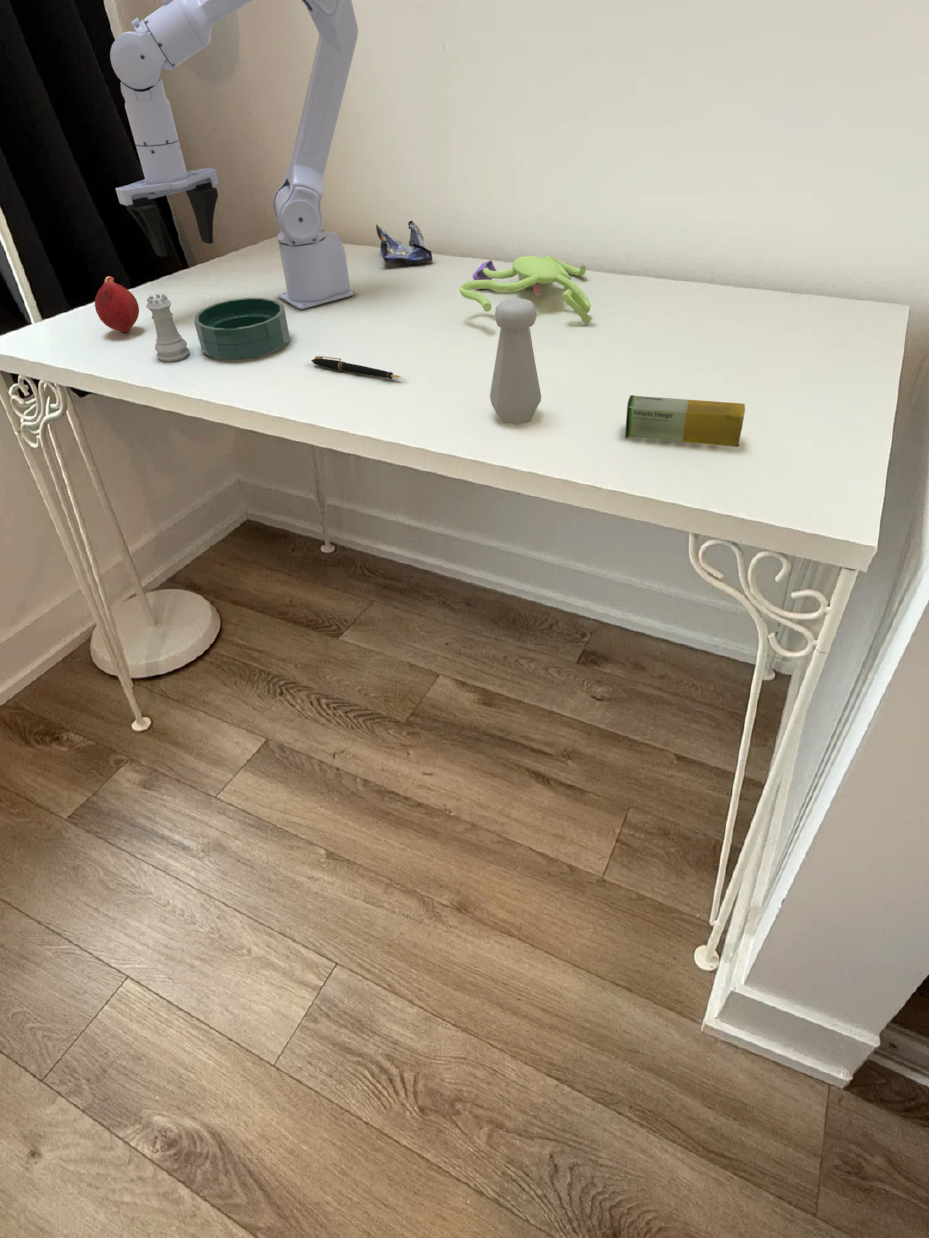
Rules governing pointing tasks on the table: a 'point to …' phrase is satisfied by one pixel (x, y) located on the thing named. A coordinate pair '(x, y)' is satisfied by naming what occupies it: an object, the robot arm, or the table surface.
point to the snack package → (404, 247)
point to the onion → (116, 306)
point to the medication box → (684, 420)
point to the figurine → (530, 281)
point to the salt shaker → (515, 363)
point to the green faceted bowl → (242, 328)
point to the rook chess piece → (166, 330)
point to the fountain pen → (351, 367)
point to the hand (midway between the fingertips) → (185, 248)
